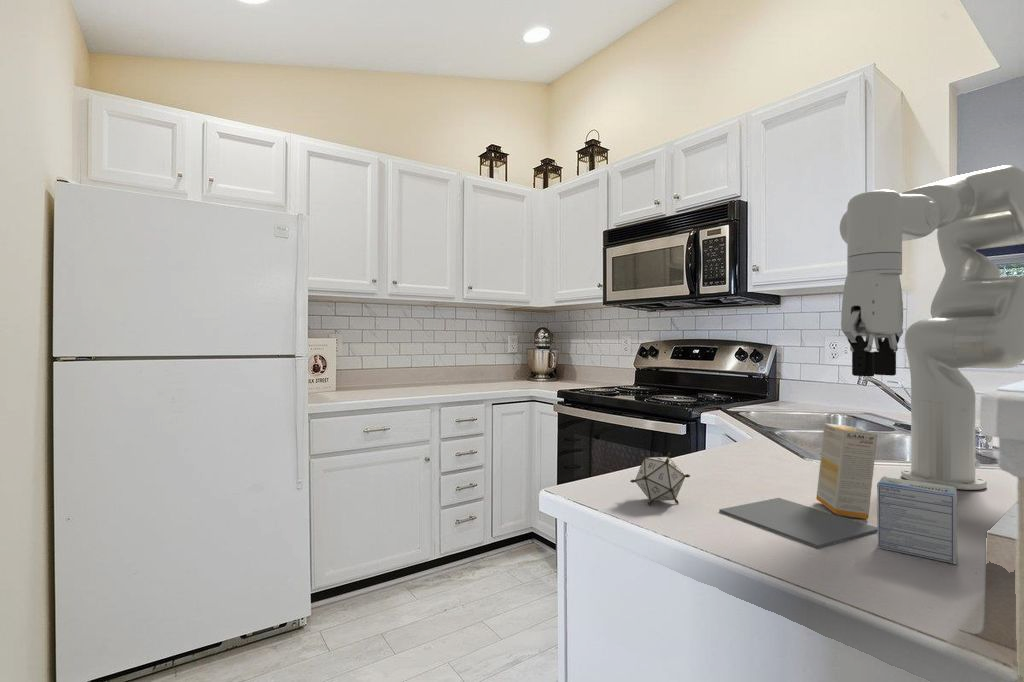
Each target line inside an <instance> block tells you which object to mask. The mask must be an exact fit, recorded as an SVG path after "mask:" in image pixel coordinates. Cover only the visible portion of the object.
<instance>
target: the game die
mask: <svg viewBox="0 0 1024 682" xmlns="http://www.w3.org/2000/svg"><path fill="white" fill-rule="evenodd" d="M640 455H641V457H642V463H641V464H640V467H639V470H638V471H637V475H636V477H635V479H631V480H630V481H629V482H630V483H632V484H633V483H636V485H637V486H638V487H639V488H640V490H641V491H642V492H643V493H644V494H645V496H646V497H647V499H648V500H649V501H648V503H647V504H648V506H651V505H652V504H653V503H652V502H659V501H660V502H662V501H663V502H664V501H674V503H675V504H677V505H680V504H679V500H678V499H677V497H678V495H679V492H680V490H681V489H682V486H683V482H684V480H685V479H686V478H690V477H691V475H690V474H688V473H687V474H684V472H682V470H681V469H680V468H679V467H678V465H676V463H674V461H673V460H672V459H671V458H670V457H671V453H670V452H668V453H667V454H666V456H652V457H647V456H646V455H645V454H644V453H641V454H640Z"/></svg>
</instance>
